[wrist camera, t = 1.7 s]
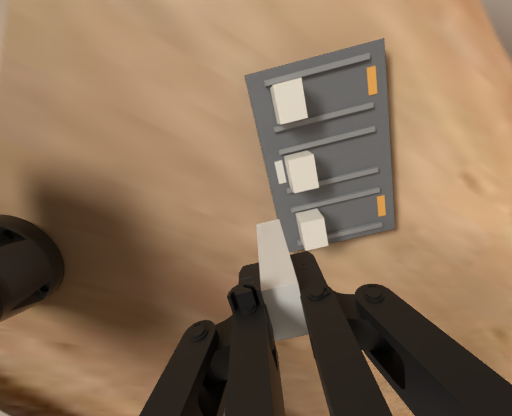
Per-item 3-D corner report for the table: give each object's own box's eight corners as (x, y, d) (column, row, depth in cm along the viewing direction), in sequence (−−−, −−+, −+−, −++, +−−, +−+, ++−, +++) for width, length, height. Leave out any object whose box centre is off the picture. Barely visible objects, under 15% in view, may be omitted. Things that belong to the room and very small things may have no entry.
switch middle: (289, 185, 34) (294, 193, 30) (283, 156, 32) (287, 160, 29) (312, 180, 33) (319, 187, 30) (307, 150, 32) (313, 154, 29)
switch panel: (283, 245, 40) (286, 255, 37) (245, 78, 32) (244, 74, 29) (386, 221, 39) (397, 230, 36) (373, 43, 31) (386, 36, 28)
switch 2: (300, 238, 36) (305, 250, 33) (295, 213, 35) (300, 223, 32) (321, 233, 36) (328, 245, 33) (316, 208, 35) (324, 217, 31)
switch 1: (277, 123, 31) (280, 124, 28) (269, 88, 29) (272, 84, 26) (301, 117, 31) (307, 117, 27) (295, 81, 29) (301, 77, 26)
